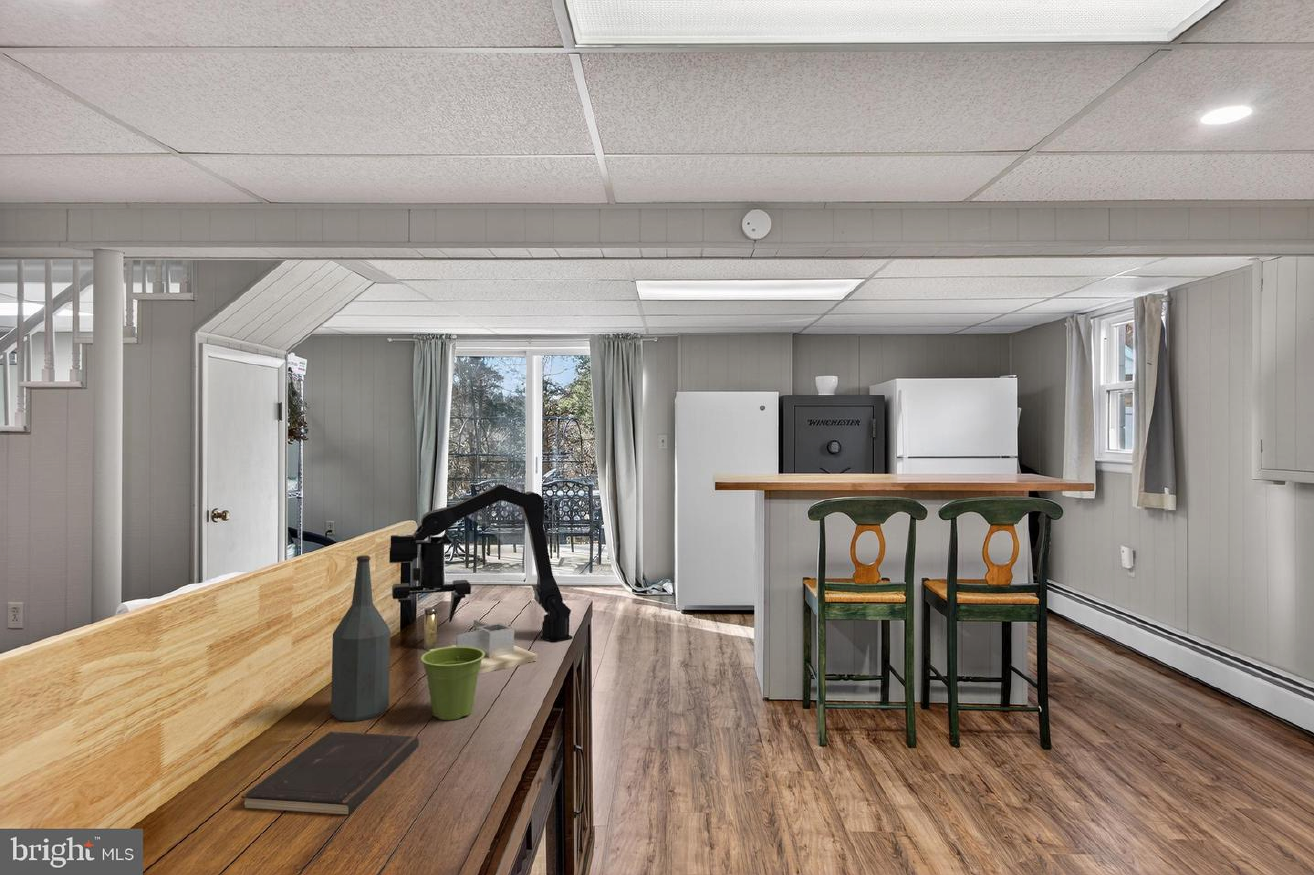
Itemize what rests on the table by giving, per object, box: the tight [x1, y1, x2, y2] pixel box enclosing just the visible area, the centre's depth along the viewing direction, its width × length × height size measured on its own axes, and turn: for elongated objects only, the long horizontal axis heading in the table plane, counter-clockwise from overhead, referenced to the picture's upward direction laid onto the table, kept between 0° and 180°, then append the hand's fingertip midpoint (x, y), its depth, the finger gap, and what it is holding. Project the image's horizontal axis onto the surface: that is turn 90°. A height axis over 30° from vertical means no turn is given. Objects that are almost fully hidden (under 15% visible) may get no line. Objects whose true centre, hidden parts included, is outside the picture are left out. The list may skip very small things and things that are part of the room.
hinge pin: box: [423, 606, 438, 651], centre depth 181 cm, size 3×3×10 cm
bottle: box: [330, 555, 391, 722], centre depth 138 cm, size 10×10×30 cm
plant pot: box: [420, 646, 485, 721], centre depth 138 cm, size 12×12×11 cm
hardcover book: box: [240, 731, 420, 816], centre depth 112 cm, size 16×23×2 cm
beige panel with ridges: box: [428, 619, 538, 675], centre depth 173 cm, size 18×20×8 cm
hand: (431, 623), depth 181 cm, fingers open, 9 cm apart
